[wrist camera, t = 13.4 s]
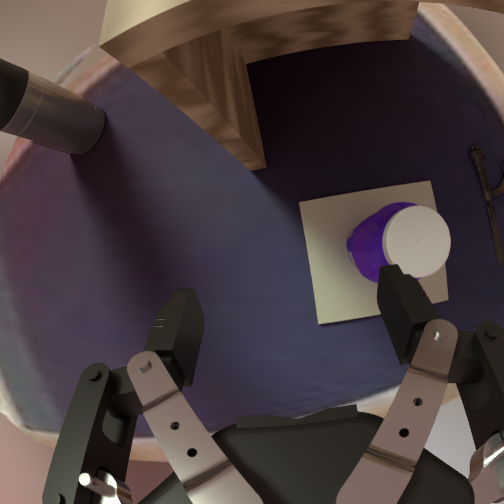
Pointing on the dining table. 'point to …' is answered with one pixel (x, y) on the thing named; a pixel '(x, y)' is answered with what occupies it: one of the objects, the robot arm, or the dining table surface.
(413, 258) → the bottle
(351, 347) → the dining table surface
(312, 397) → the dining table surface
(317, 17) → the wooden slatted crate
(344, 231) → the mat
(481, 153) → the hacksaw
